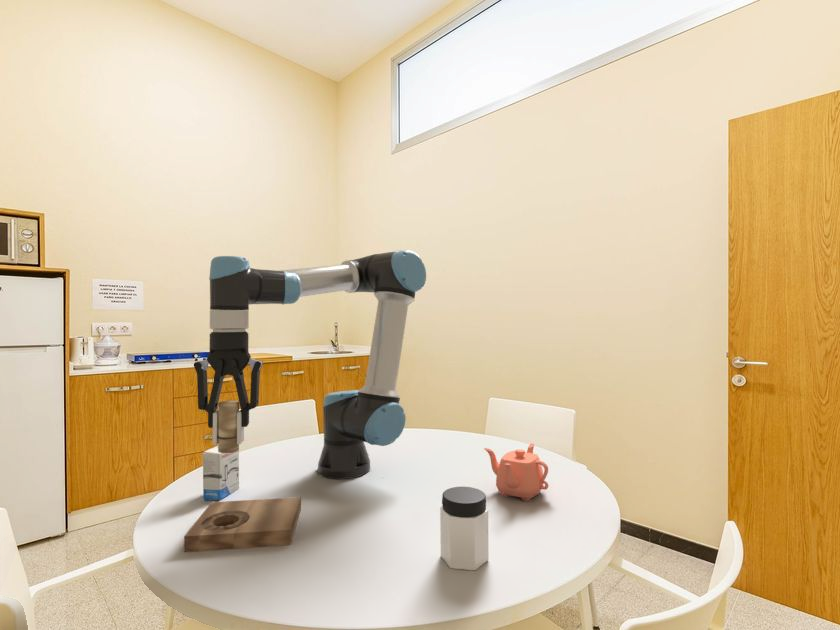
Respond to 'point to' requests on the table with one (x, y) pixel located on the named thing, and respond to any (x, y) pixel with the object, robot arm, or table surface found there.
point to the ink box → (220, 474)
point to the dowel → (227, 426)
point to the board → (244, 524)
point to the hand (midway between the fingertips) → (228, 442)
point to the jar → (464, 528)
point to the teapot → (519, 473)
